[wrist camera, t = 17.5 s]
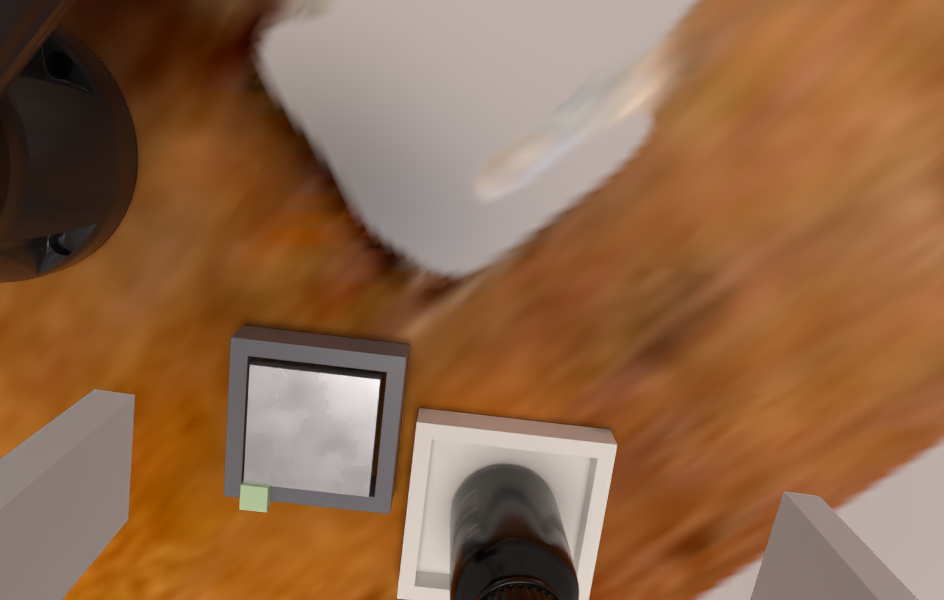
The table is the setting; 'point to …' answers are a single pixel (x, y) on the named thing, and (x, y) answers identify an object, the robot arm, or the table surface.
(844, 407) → the table surface
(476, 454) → the dish
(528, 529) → the supplement bottle
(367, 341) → the grey square framed panel
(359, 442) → the grey square tile
